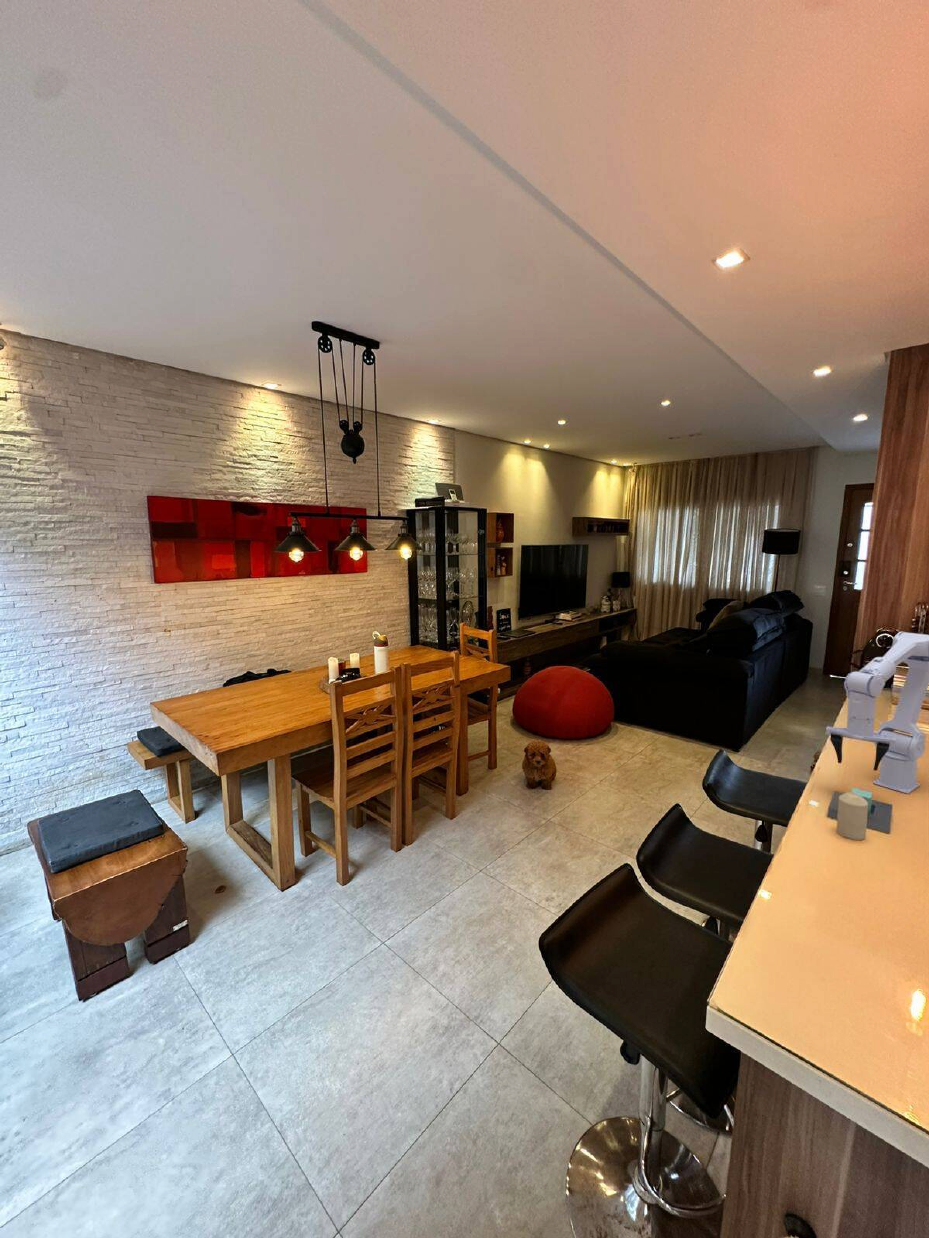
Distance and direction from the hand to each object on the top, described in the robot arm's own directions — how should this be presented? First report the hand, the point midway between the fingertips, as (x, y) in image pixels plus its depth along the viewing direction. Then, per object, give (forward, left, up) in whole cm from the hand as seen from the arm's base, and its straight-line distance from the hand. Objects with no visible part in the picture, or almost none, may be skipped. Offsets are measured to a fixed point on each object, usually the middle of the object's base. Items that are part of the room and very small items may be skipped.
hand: (857, 765), depth 135 cm
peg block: (+9, +5, -10) cm, 14 cm away
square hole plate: (+9, +5, -9) cm, 14 cm away
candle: (+21, +7, -10) cm, 24 cm away
